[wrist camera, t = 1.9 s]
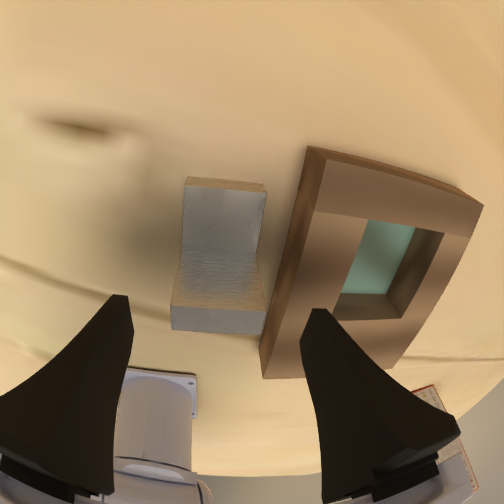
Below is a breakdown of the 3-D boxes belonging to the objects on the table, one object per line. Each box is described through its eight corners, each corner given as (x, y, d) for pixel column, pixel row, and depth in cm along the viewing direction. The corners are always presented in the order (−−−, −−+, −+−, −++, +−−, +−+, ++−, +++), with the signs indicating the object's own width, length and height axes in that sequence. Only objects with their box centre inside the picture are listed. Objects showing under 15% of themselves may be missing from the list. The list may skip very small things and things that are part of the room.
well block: (380, 344, 24) (392, 368, 22) (258, 349, 22) (262, 379, 20) (457, 187, 16) (483, 205, 13) (308, 145, 14) (326, 159, 11)
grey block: (249, 261, 18) (260, 334, 12) (184, 256, 17) (171, 329, 12) (262, 184, 15) (284, 238, 10) (188, 176, 14) (168, 228, 9)
